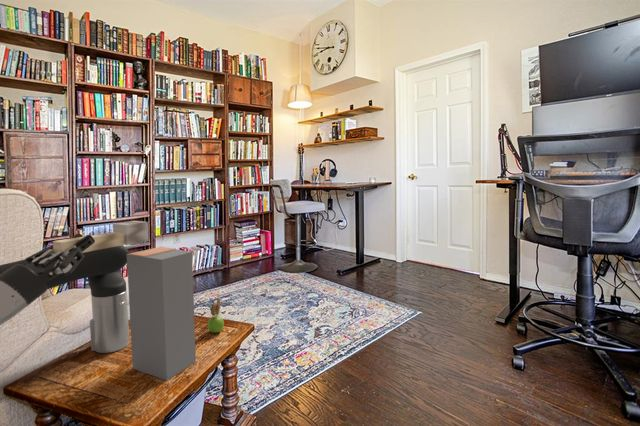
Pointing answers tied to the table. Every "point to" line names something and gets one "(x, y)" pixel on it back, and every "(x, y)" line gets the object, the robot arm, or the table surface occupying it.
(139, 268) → the pedestal
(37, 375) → the table surface
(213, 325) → the snail figurine
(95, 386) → the table surface
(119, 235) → the beam
